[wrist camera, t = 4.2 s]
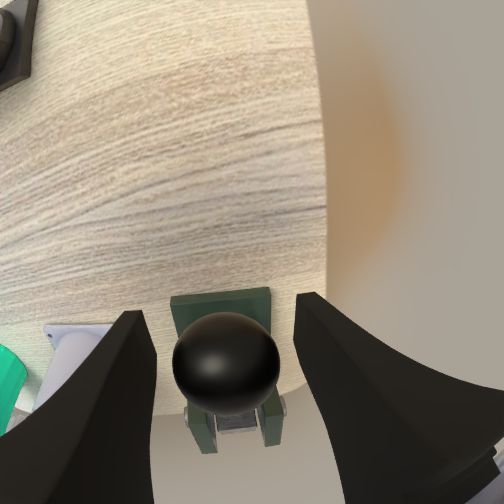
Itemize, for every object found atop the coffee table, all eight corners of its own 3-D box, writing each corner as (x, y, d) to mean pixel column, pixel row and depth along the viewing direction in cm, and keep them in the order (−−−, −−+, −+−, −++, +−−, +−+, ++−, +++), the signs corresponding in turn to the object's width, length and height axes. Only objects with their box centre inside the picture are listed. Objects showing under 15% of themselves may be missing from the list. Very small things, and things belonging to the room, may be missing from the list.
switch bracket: (170, 296, 19) (159, 408, 11) (268, 286, 20) (307, 392, 12) (189, 368, 23) (192, 463, 15) (267, 360, 24) (293, 451, 16)
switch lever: (160, 296, 7) (162, 410, 5) (273, 285, 7) (299, 395, 5) (210, 397, 17) (215, 439, 15) (255, 392, 17) (262, 433, 15)
